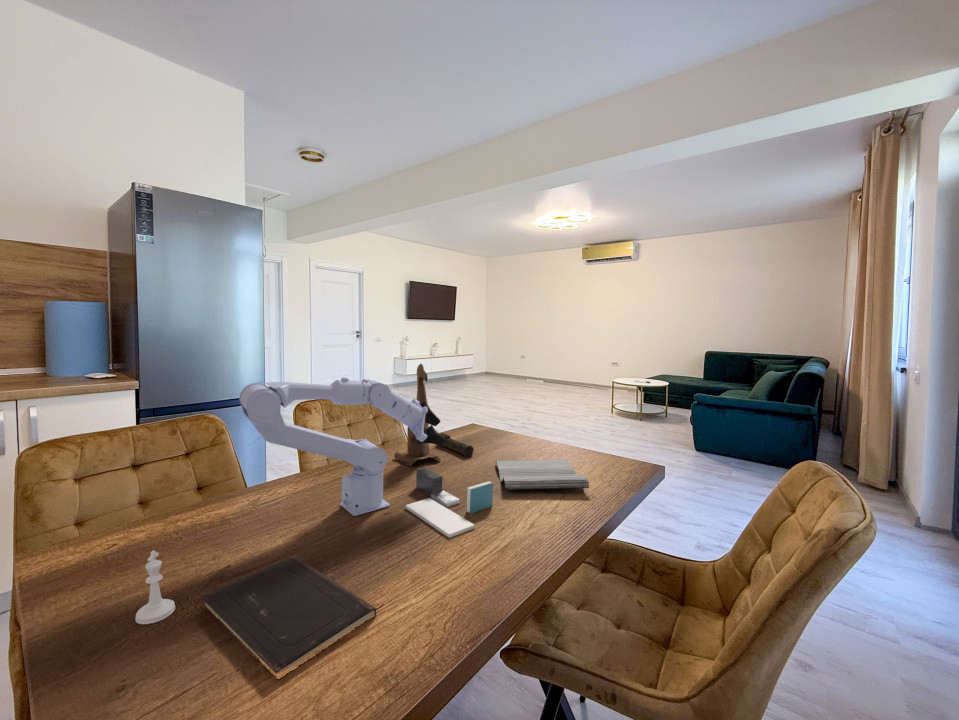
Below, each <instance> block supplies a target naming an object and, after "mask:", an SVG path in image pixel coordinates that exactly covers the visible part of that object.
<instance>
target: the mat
mask: <svg viewBox="0 0 959 720" xmlns="http://www.w3.org/2000/svg"><path fill="white" fill-rule="evenodd" d="M495 464H496V466H497V469H498V470H497V471H498V475H499V479H500V483H504V487H505V489H507V490H508V491H509V492H511V491H516V490H517V491H519V490H520V491H523V490H525V491H529V490H530V491H531V490H549V489H551V490H555V489H561V490H562V489H581V490H582V493H584V489H589V487H590V480H589V479H588V477H587V475H583V474H582V475H577V474H576V471H575V469H574V467H573V466H572V465H571V463H570V462H569V461H568V459H536V460H535V459H534V460H532V459H531V460H530V459H529V460H527V459H526V460H523V459H522V460H495Z"/></svg>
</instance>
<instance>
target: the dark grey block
mask: <svg viewBox="0 0 959 720" xmlns="http://www.w3.org/2000/svg"><path fill="white" fill-rule="evenodd" d="M415 473H416V476H415V478H416V480H415V482H416V484H415V488H416V489H418V490H419V491H421V492H422V493H425V494H426V495H428V496H429V497H430V499H432V500H434V501H435V502H437V503H439V504H440V505H442V506H444V507H445V508H449V507H452V506H455V505H458V504H459V505H460V503H461V502H460V501H461V498H458V497H456V496H455V495H453V494H451V493H449V492H448V491H445V490H443V476H442V475H440V474H439V473H437V472H435V471H433V470H431V469H429V468H427V467H424V468H420V469H416V472H415Z"/></svg>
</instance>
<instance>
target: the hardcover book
mask: <svg viewBox="0 0 959 720" xmlns="http://www.w3.org/2000/svg"><path fill="white" fill-rule="evenodd" d="M201 600H203V601H204V605H205V607H206V608H207V610H208V611H210V613H211V614H213V616H214V617H215V618H216V619H217V620H218V619H220V620H221V622H223V623H224V624H225V625H226V626H227V628H229V630H231V632H233V634H234V635H235V636H237V638H239V639H240V641H242V642H243V643H244V644H245V645H246V646H247V647H248V648H249V649H250V650H251V651H252V652H253V653H254V654H256V655H257V656H258V657H259V658H260V659H261V660H262V661H264V662H265V663H266V664H267V665H268V666H269V667H270V668H271V669H272V670H273V671H274V672H275V673H280V672H282V671H284V670H285V669H287V668H289V667H291V666H292V665H294V664H296V663H298V662H299V661H301V660H303V659H304V658H306V657H307V656H308V655H310V654H312V653H313V652H315V651H316V650H318V649H320V648H321V647H322V648H323V647H324V646H326V645H327V644H329V643H331V642H332V641H334V640H335V639H337V638H339V637H341V636H342V635H343V634H345V633H347V632H348V631H350V630H351V629H353V628H355V627H356V626H357V625H359V624H361V623H363V622H364V621H366V620H368V619H369V618H371V617H372V616H374V615H375V616H376V617H377V608H376V607H374V606H373V605H371V604H370V603H368V602H366V600H364V599H362V598H361V597H359V596H357V595H356V594H355V593H353V592H351V591H350V590H349V589H347V588H345V587H344V586H342V585H341V584H339V583H338V582H336V581H335V580H333V579H332V578H331V577H328V576H327V575H326V574H324V573H323V572H321V571H320V570H318V569H316V568H315V567H313V566H311V565H310V564H308V563H307V562H305V560H302V558H300V557H298V556H296V555H293V556H290V557H288V558H285V559H284V560H280V561H279V562H276V563H274V564H272V565H270V566H268V567H265V568H263V569H261V570H259V571H256V572H253V573H252V574H249V575H247V576H245V577H243V578H240V579H238V580H235V581H234V582H231V583H230V584H227V585H225V586H223V587H219V588H217V589H216V590H214V591H211V592H209V593H206V594H204V595H202V596H201ZM221 622H220V623H221ZM227 628H226V629H227ZM229 630H228V631H229ZM231 632H230V633H231ZM233 634H232V635H233ZM234 635H233V636H234ZM235 636H234V637H235ZM237 638H236V639H237ZM240 641H239V642H240Z"/></svg>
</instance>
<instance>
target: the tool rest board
mask: <svg viewBox="0 0 959 720" xmlns="http://www.w3.org/2000/svg"><path fill="white" fill-rule="evenodd" d="M405 509H406V510H407V511H409V512H411V513H412V514H413V515H415V516H416V517H418V518H420V520H423V522H425V523H427V524H428V525H430V526H431V527H432V528H434V529H435V530H437V531H438V532H440V533H441V534H443V536H446V537H448V538H450V539H451V538H453V537H455V536H458V535H461V534H464V533H465V532H466V533H467V532H469V531H471V530H473V529H475V528H476V527H475V524H474V523H472V522H471V521H469V520H468V519H466V518H464V517H463V516H461V515H459V514H457V513H455V512H454V511H452V510H451V509H448V507H446V506H444V505H442V504H441V503H439V502H437V501H436V500H434V499H432V498H431V497H428V498H424V499H421V500H418V501H415V502H412V503H409V504H405Z"/></svg>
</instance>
